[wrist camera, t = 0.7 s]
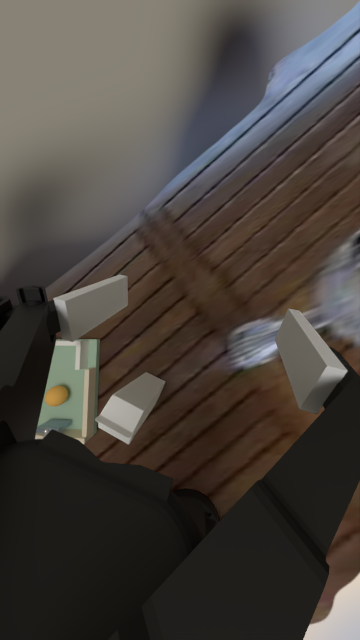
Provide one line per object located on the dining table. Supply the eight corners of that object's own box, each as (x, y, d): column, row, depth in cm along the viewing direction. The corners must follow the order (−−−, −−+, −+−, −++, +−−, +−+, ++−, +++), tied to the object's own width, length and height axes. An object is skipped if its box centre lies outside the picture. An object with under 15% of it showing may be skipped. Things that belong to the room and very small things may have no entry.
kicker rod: (70, 456, 48) (4, 517, 32) (49, 454, 48) (-26, 513, 32) (71, 419, 48) (8, 461, 33) (51, 418, 49) (-21, 458, 33)
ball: (71, 402, 49) (57, 410, 44) (54, 401, 50) (38, 409, 45) (72, 383, 50) (58, 389, 45) (56, 383, 50) (40, 388, 45)
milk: (146, 371, 49) (102, 399, 27) (166, 381, 48) (137, 418, 27) (136, 392, 49) (85, 437, 27) (156, 402, 48) (120, 458, 26)
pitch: (96, 432, 49) (84, 443, 44) (36, 428, 51) (17, 438, 46) (100, 339, 51) (88, 339, 46) (41, 339, 53) (24, 339, 48)
